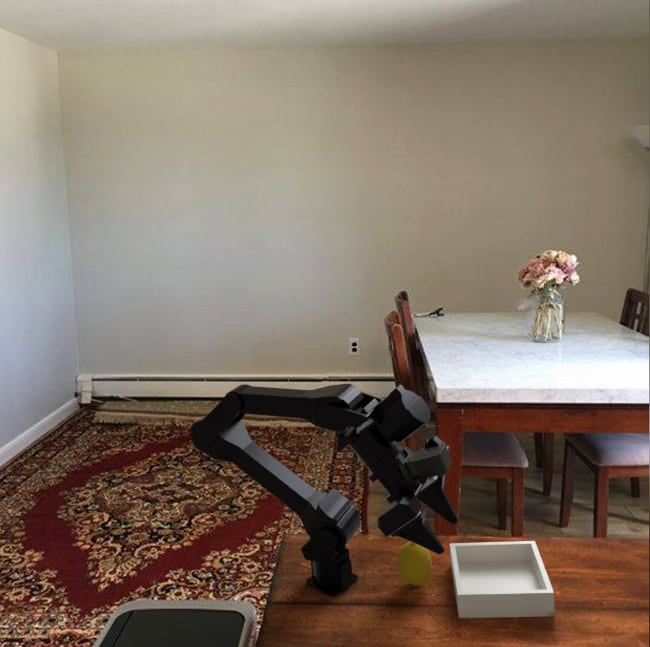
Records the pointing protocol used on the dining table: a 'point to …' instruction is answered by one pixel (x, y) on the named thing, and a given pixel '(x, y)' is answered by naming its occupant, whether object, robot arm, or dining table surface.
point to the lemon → (414, 563)
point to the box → (500, 580)
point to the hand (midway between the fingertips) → (449, 537)
